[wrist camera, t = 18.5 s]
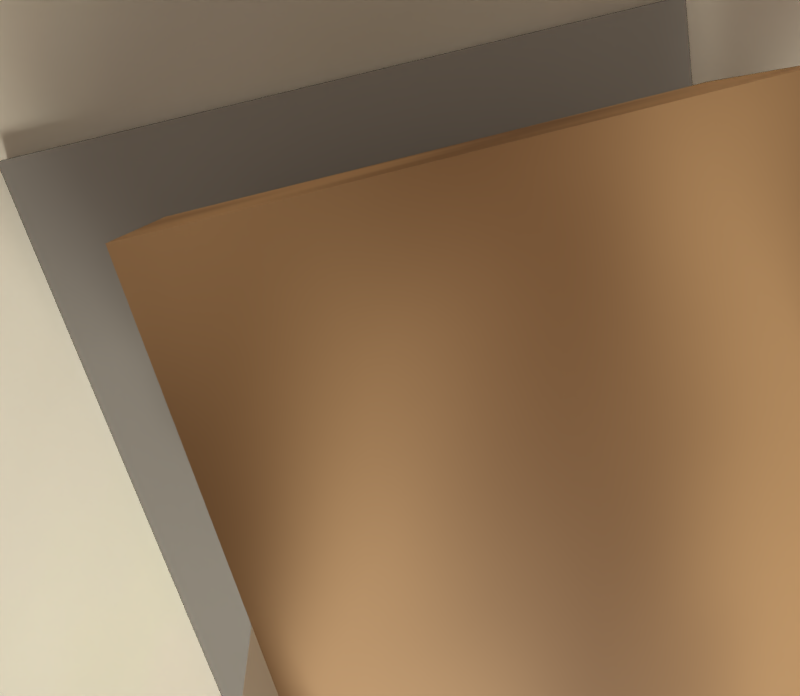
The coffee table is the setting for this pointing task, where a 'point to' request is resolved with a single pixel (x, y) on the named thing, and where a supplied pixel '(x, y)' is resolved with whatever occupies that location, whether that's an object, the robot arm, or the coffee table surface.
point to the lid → (506, 404)
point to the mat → (272, 169)
